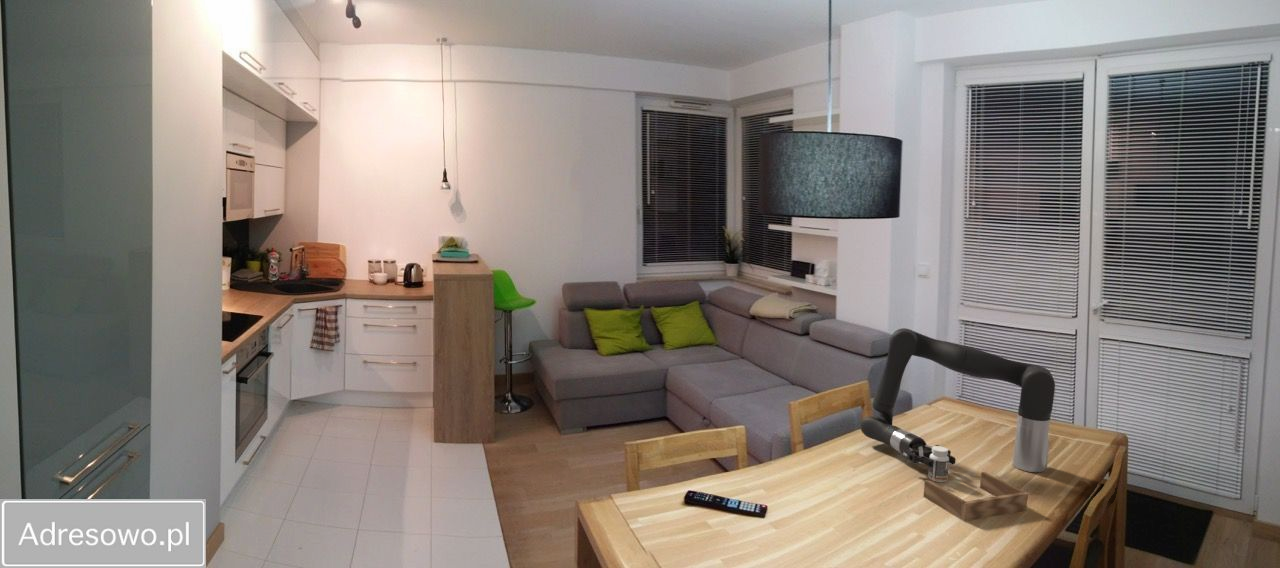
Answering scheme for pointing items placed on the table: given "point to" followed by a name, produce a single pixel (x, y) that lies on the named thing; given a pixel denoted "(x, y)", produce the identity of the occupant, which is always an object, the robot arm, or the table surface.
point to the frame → (1003, 503)
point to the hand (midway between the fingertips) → (943, 462)
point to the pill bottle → (939, 464)
